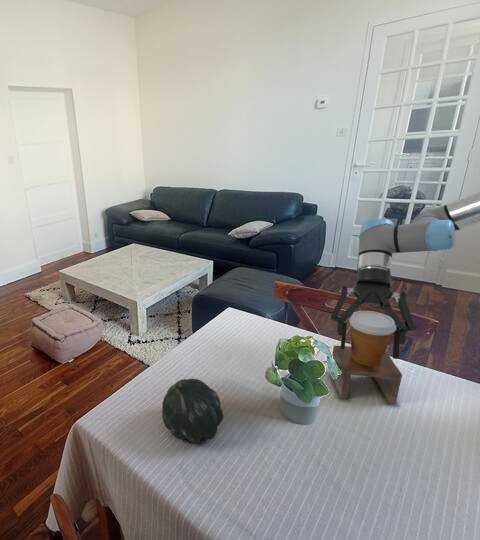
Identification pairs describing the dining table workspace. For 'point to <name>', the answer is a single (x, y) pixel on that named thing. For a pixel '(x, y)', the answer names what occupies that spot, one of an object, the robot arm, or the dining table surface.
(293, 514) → the dining table surface
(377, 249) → the robot arm
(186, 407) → the squash
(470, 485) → the dining table surface
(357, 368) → the shelf
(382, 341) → the disposable coffee cup
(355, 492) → the dining table surface
